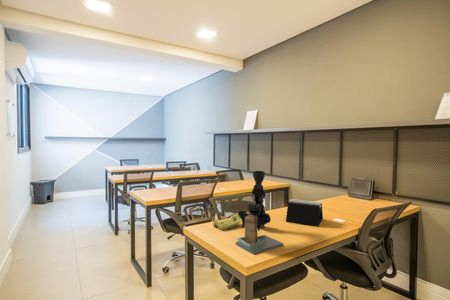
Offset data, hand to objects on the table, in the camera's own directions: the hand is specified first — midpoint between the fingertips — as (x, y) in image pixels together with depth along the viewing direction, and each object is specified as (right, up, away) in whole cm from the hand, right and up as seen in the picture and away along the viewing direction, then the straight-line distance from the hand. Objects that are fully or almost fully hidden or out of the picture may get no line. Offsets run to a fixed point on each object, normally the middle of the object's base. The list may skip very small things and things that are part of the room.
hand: (250, 229), depth 142 cm
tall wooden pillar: (+1, -8, +1) cm, 8 cm away
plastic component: (-12, -9, +35) cm, 38 cm away
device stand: (+46, -9, +49) cm, 68 cm away
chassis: (+5, -9, +2) cm, 11 cm away
